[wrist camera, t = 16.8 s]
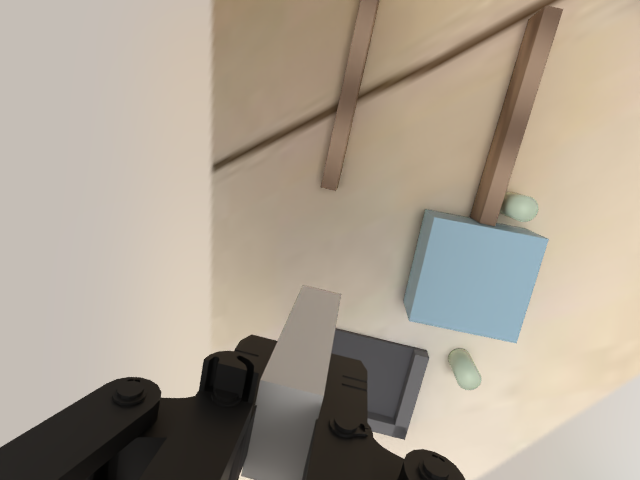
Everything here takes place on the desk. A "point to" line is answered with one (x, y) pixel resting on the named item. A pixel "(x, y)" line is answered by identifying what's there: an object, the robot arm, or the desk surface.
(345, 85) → the parallel brown rails
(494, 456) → the desk surface
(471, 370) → the goal posts
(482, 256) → the block
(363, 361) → the tray
